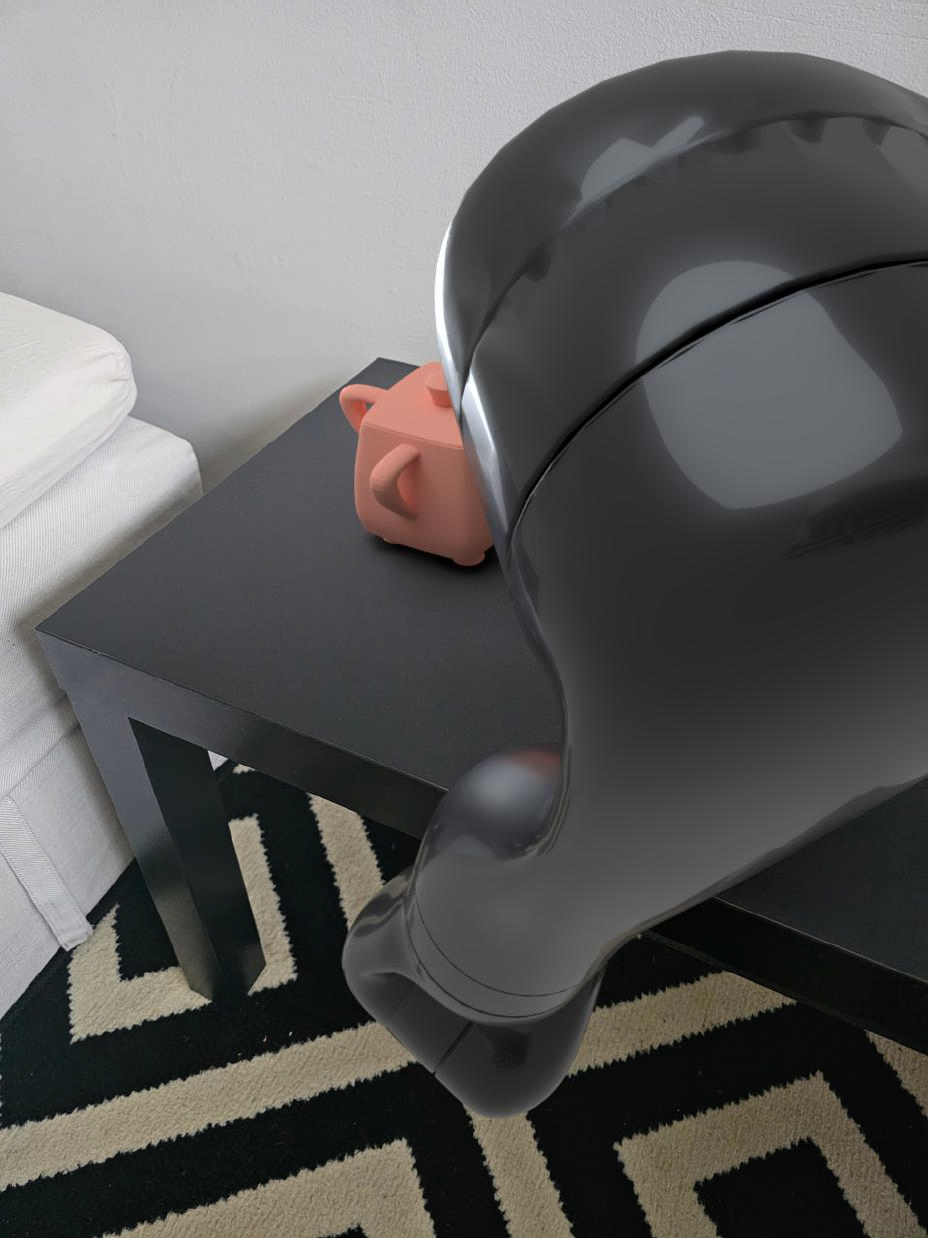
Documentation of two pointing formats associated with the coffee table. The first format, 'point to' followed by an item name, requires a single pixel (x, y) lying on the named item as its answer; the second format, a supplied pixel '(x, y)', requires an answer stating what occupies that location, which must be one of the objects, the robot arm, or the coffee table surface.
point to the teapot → (415, 468)
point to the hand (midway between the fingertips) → (808, 576)
